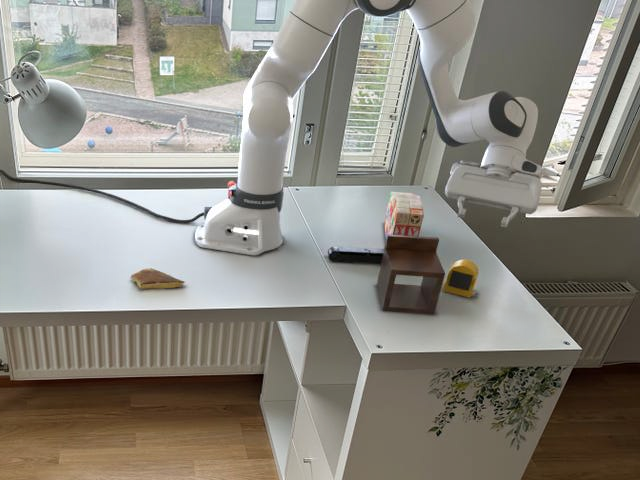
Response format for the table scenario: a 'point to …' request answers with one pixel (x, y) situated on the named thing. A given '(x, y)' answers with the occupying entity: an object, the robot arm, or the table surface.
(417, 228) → the stack of blocks
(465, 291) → the tape measure
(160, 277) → the shard
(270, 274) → the table surface
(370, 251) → the tablet stand
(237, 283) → the table surface
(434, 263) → the shelf
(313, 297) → the table surface
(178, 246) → the table surface
